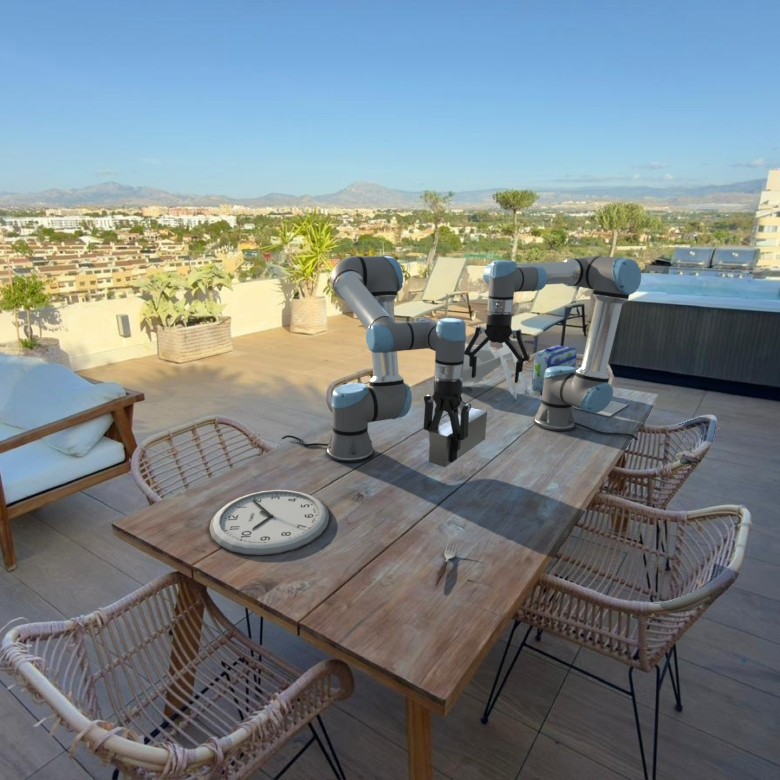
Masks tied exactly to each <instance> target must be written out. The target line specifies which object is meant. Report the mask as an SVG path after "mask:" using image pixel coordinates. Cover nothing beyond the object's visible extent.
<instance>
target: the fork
mask: <svg viewBox="0 0 780 780" xmlns="http://www.w3.org/2000/svg"><path fill="white" fill-rule="evenodd" d="M449 543H450V545H449ZM455 543H456V546H455ZM452 544H453V545H452ZM458 545H459V541H457V542H456V541H454V542H453V541H451V542H450V540H448V542H447V544H446V548H445V551H444V557H445V561H444V562H443V564H442V566H441V567H440V569H439V571H438V575H437V577H436V578H437V579H436V582H435V587H437V586H438V585H439V583H440V581H441V579H442V577H443V576H444V574H445V573H446V570H447V565H448V561H449V560H451V559H454V558H455V556H456V555H457V550H458Z"/></svg>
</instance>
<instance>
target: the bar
mask: <svg viewBox="0 0 780 780" xmlns="http://www.w3.org/2000/svg"><path fill="white" fill-rule="evenodd" d="M458 417H459V423H460V418H461V413H460V414H458ZM487 418H488V411H487V410H483V409H478V408H474V407H471V408H470V411H469V424H468V437H467V438H465V439H464V440H461V445H460V450H458V451H457V460H458V459H459V458H461V457H463V456H464V455H465V454H466V453H468V452H469V451H471V450H472V449H473V448H475V447H477V446H478V445H479V444H480V443H483V442H484V441H485V440H486V434H487V433H486V431H487V420H488V419H487ZM429 439H430V442H429V448H428V463H431V464H433V465H436V466H439V467H443V468H447V467H448V466H449V465H451V464H452V463H451V462H450V449H451V440H452V439H453V432H452V427H451V421H450V420H448V421H446V422H445V423H443V424H441V425H440V426H438V428H436V429H434V430H432V431H431V432H430V433H429Z"/></svg>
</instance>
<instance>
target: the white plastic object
mask: <svg viewBox="0 0 780 780" xmlns="http://www.w3.org/2000/svg"><path fill="white" fill-rule="evenodd" d="M468 345H469V344H468V343H466V342H465V350H466V348H467V346H468ZM479 345H480V344H478V345H473V347H472V349H471V350H470V351H471V352H473V351H474V350H475V349H476V348H477V347H478V346H479ZM501 345H502V347H500V348H498V349H496V350H495V349H493V348H492V347H491V346H490V344H489V343H488V342H487V343H486V344H485V345H484V346H483V347H482V348H481V349H480V350H479V351H478V352H477V353H476V354H475V355H474V356H477V364H476V376H475V377H474V378H472V367H470V366H469V359H470V357H469V356H468V355H465V354H464V365H463V377H462V378H461V379H462V380H463V382H462V384H467V383H468V384H469V383H473V384H477V383H480V382H482V381H484V378H485V377H486V376H487V375H489V374H490V373H492V372H494V371H495V370H496V369H497V368H499V367H500V366H502V370H503V373H504V376H505V380H506V383H507V386H508V390H509V393H510V394H511V395H512V397H513V398H514V399H515V400H517V392H516V391H517V390H516V388H515V385H514V381H513V378H512V375H511V371H510V369H509V365H508V361H510V360H513V363H514V366H515V367H516V362H517V360H518V359H517V358H516V357H515V355H514V354H513V352H512V351H511V350H510V348H509V347H508V346H507V345H506V344H505V342H504V343H501ZM518 380H519V382H520V385H521V389H522V391H523V393H524V395H525V396H526V397H528V396H531V395H530V390H529V388H528V387H529V386H528V384H527V381H526V378H525V375H524V371H523V370H522V372H519V378H518Z"/></svg>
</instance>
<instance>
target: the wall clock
mask: <svg viewBox="0 0 780 780" xmlns="http://www.w3.org/2000/svg"><path fill="white" fill-rule="evenodd" d="M329 521H330V514H329V509H328V507H327V506H326V505H325V504H324V503H323V502H322V501H321V500H320V499H318V498H317V497H315V496H313V495H310V494H308V493H304V492H301V491H295V490H291V489H290V490H288V489H272V490H270V489H269V490H262V491H258V492H252V493H249V494H246V495H244V496H240V497H238V498H235V499H234V500H231V501H230V502H229V503H226V504H225V505H224V506H223V507H222V508H221V509H219V510H218V511H216V513H215V514H214V516H213V517H212V518H211V521H210V524H209V533H210V536H211V539H212V540H213V541H214V542H215V543H216V544H217V545H218V546H219V547H222V548H224V549H226V550H228V551H230V552H234V553H237V554H243V555H254V556H266V555H274V554H275V555H276V554H281V553H285V552H289V551H292V550H296V549H298V548H301V547H304V546H305V545H307V544H309V543H311V542H313V541H314V540H316V539H317V538H318V537H319V536H321V535H322V534H323V532H324V531H325V530H326V529H327V527H328V525H329Z"/></svg>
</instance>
